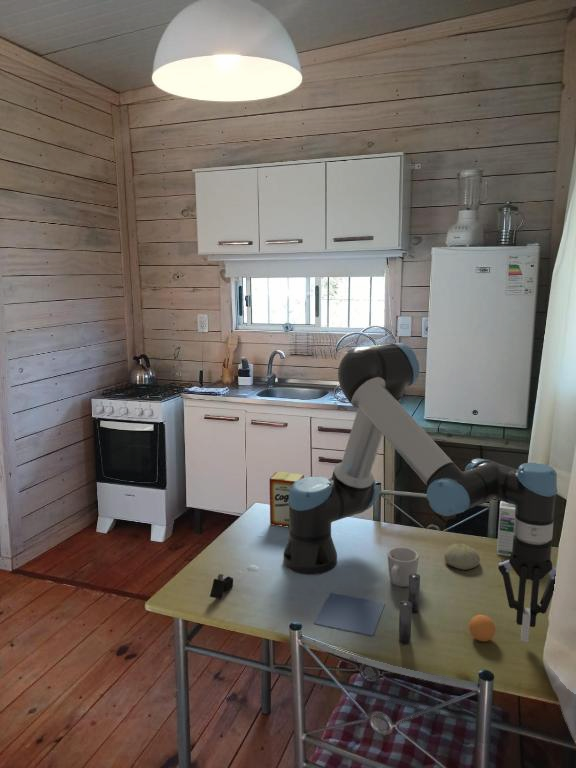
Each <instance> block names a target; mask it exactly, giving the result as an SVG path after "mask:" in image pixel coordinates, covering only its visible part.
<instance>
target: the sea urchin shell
mask: <svg viewBox="0 0 576 768" xmlns="http://www.w3.org/2000/svg"><path fill="white" fill-rule="evenodd" d="M443 558H444V561H445V563H446V564H447V565H449V566H451V568H456V569H460V570H464V571H466V570H471V569H474V568H476V567H477V566H478V565H479V564H480V560H481V558H480V555H479V553H478V552H477V551H476V549H474V548H473V547H472V546H470V545H468V544H466V543H465V544H464V543H453V544H451V545H449V546H448V547H447V548H446V550H445V552H444V557H443Z"/></svg>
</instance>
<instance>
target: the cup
mask: <svg viewBox="0 0 576 768" xmlns="http://www.w3.org/2000/svg"><path fill="white" fill-rule="evenodd" d="M419 559H420V556H419V553H418V552H417V551H416V550H414V549H411V548H408V547H403V546H402V547H400V546H399V547H395V548H394V547H393V548H391V549H390V550H389V551H388V552H387V563H388V564H387V565H388V575H389V576H388V577H389V580H390V582H391V583H392V584H393V585H394V586H397V587H399V588H409V575H410V574H412V573H415V574H418V573H417V572H418V565H419Z"/></svg>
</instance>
